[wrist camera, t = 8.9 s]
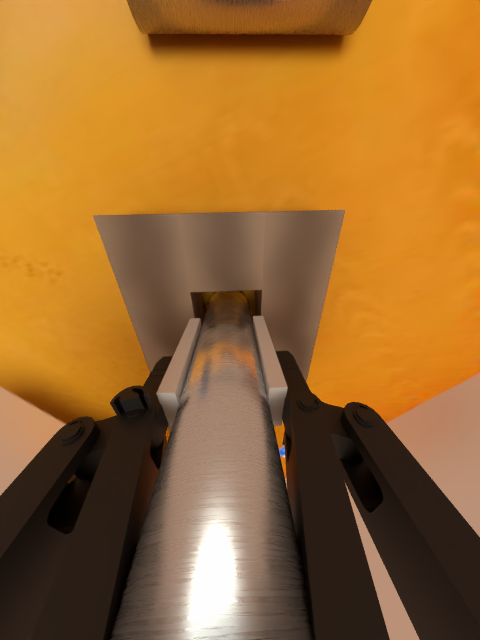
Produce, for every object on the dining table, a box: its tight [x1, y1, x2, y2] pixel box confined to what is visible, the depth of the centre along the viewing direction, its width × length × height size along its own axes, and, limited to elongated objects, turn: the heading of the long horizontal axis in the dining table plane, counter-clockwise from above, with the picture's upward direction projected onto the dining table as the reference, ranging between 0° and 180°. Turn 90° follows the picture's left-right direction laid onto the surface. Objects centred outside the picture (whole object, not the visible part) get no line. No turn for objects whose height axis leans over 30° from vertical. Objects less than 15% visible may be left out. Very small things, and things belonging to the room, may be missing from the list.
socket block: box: [93, 210, 345, 381], centre depth 17 cm, size 16×16×4 cm
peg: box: [110, 291, 313, 640], centre depth 10 cm, size 4×4×16 cm
